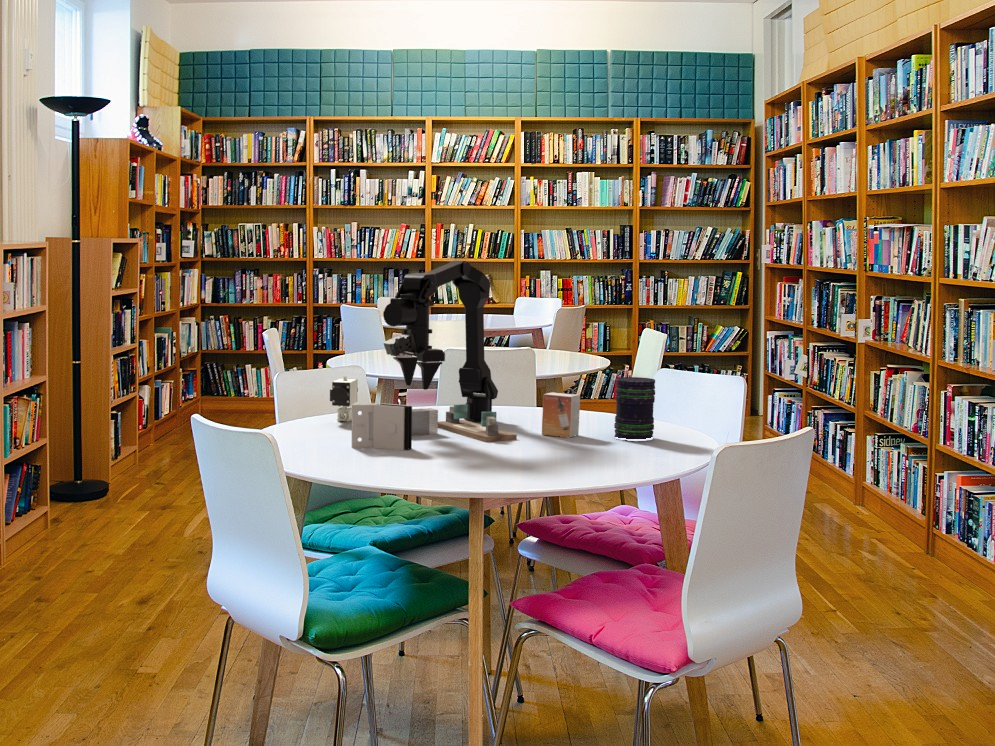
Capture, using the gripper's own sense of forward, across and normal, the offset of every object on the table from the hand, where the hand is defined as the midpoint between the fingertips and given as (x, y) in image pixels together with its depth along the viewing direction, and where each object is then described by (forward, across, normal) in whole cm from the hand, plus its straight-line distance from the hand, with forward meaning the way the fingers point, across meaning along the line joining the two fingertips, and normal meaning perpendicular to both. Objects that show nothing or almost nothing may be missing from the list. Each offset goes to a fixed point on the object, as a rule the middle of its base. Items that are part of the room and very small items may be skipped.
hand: (416, 387), depth 267 cm
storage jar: (+12, +29, +46) cm, 56 cm away
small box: (+12, +17, +32) cm, 38 cm away
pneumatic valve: (+12, -27, -8) cm, 30 cm away
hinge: (+12, +14, -16) cm, 25 cm away
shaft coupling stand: (+12, +5, +14) cm, 19 cm away
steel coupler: (+12, 0, 0) cm, 12 cm away
